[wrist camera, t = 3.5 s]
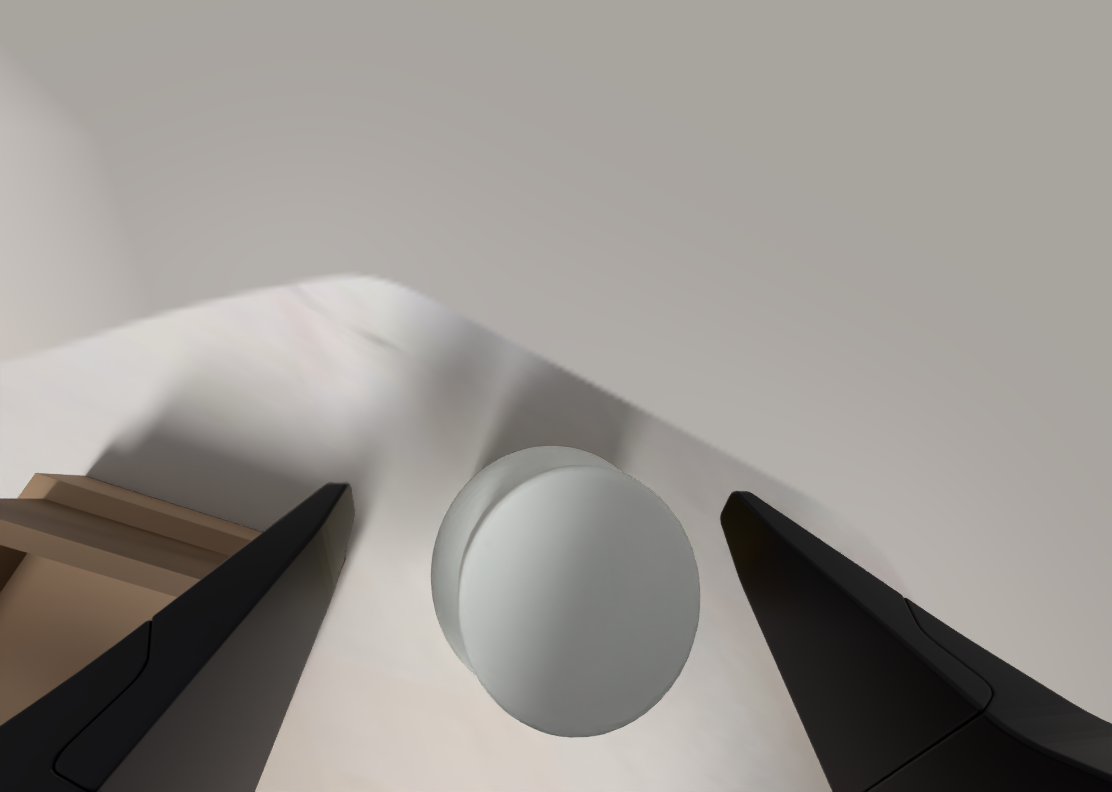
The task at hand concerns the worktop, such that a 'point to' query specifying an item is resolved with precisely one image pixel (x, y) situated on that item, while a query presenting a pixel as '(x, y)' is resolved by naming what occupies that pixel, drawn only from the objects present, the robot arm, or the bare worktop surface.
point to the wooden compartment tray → (91, 574)
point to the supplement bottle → (566, 590)
